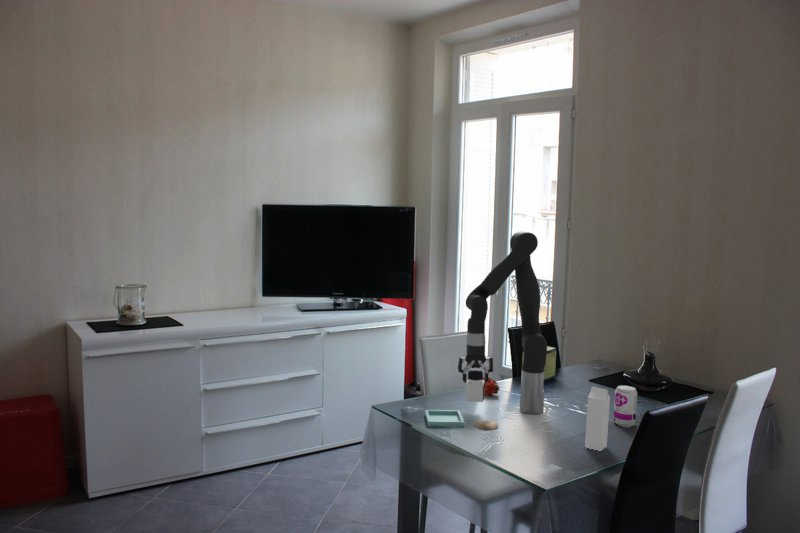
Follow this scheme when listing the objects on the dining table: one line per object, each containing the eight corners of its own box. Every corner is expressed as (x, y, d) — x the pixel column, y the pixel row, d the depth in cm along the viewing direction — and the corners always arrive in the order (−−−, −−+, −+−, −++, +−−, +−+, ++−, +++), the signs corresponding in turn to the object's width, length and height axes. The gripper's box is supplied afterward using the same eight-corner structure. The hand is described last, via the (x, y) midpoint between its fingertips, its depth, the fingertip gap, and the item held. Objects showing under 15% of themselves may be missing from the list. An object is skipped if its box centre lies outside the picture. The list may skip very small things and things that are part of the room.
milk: (590, 443, 242) (594, 384, 240) (607, 447, 239) (610, 388, 237) (584, 448, 238) (588, 388, 235) (601, 452, 234) (605, 391, 232)
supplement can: (624, 429, 259) (627, 391, 257) (608, 422, 266) (611, 386, 264) (639, 426, 262) (642, 389, 261) (623, 419, 270) (626, 384, 268)
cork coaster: (495, 421, 262) (495, 420, 262) (500, 430, 253) (500, 428, 253) (473, 421, 262) (473, 420, 262) (476, 429, 253) (476, 428, 253)
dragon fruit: (478, 393, 304) (497, 404, 296) (469, 386, 299) (488, 396, 290) (487, 378, 306) (507, 388, 297) (479, 370, 301) (498, 380, 292)
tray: (459, 415, 269) (459, 410, 269) (464, 427, 255) (464, 422, 255) (425, 414, 268) (425, 409, 268) (428, 426, 254) (428, 421, 254)
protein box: (555, 378, 329) (557, 347, 328) (539, 384, 318) (541, 352, 316) (536, 373, 336) (538, 343, 335) (520, 379, 325) (522, 348, 323)
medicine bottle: (483, 402, 267) (483, 373, 266) (465, 401, 269) (465, 372, 267) (484, 397, 274) (484, 368, 273) (467, 396, 276) (467, 367, 274)
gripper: (491, 340, 273) (490, 379, 275) (457, 341, 272) (456, 379, 274) (495, 345, 265) (494, 384, 267) (459, 345, 265) (459, 385, 266)
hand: (475, 382), depth 271 cm, fingers closed on medicine bottle, 8 cm apart
